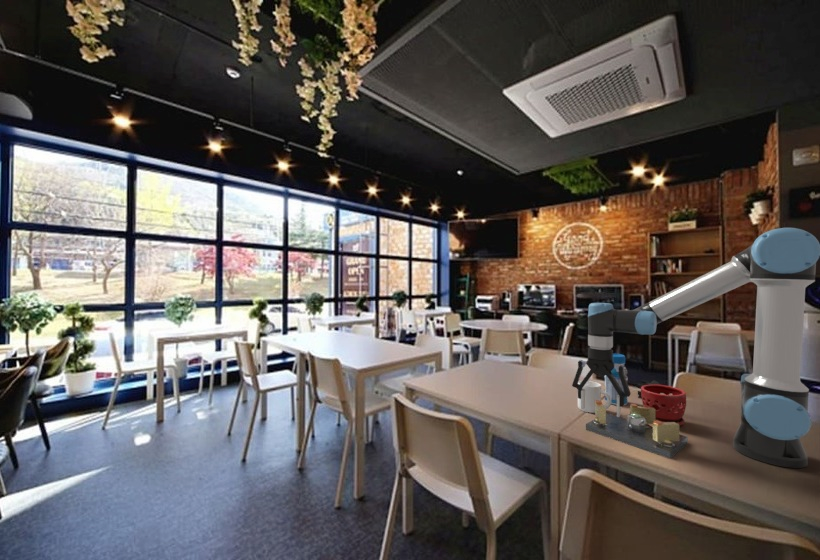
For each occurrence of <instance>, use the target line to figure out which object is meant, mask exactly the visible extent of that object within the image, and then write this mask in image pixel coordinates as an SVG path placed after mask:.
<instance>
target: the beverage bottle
mask: <svg viewBox="0 0 820 560" xmlns="http://www.w3.org/2000/svg"><path fill="white" fill-rule="evenodd" d="M613 363H614V365H619V366H620V365H623V366H624V375H625V378H626V381H627V382H628V380H629V377H628V376H627V375H628V370H627V368H626V366H625V364H626V356H625V355H624V354H621V353H613ZM611 372H612V374H613V376H614V378H615V379H616V381H617V383H618V384H619V386H620V387H621V389H622V391H623V392H624V389H623V386H622V383H621V380H620V377H619V372H617V371H616V369H615V368H613V370H612V371H611ZM603 377H604V391H606V392H607V393H608V394H609V396H610V398H611V405H614V406H617V396H618V393H617V391H616V390H615V388H614V386H613V385H612V383H611V382H610V380H609V379H608V377H607V376H606V375H605V376H603ZM604 401H605V402H606V403H607V398H606V396H605V395H604ZM627 404H628V397H624V406H626V405H627Z"/></svg>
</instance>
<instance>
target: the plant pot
mask: <svg viewBox="0 0 820 560" xmlns="http://www.w3.org/2000/svg"><path fill="white" fill-rule="evenodd" d="M640 391H641V397H642V399H641V400H642V401H641V402H642V405H643V406H642V407H651V408H654V409H655V421H660V422H675V423H677V424H679V427H681V426H682V425H684V424H685V419H684V418H683V417H684V415H685V411H686V407H687V393H686V392H685V390H682V389H681V388H678V387H674V386H670V385H663V384H660V385H644V386H642V387H641V389H640ZM653 392H656V393H653Z"/></svg>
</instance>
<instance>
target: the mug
mask: <svg viewBox="0 0 820 560" xmlns="http://www.w3.org/2000/svg"><path fill="white" fill-rule="evenodd" d="M582 381H583V380H579V381H578V384H579V385H580V383H581V382H582ZM582 389H585V408H584V409H581V399H579V398H578V397H577V408H578V409H579V410H580V411H582V412H583V413H584V412H585V413H588V412H589V414H590V413H591V414H595V400H599V401H601V402H602V395H604V397H605V396H606V398H607V402H606V404H604V405H603V404H602V405H603V406H604V407H605V409H606V410H607V409H608V408H610V406H611V405H612V404H611V398H610V396H609V394H608V393H607V392H606V391H605V389H602V384H601V383H599V382H596V381H593V380H592V381H591V380H588V381H587V382H586V384H585V385H584V386H583V388H582Z"/></svg>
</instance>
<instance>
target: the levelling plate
mask: <svg viewBox="0 0 820 560" xmlns="http://www.w3.org/2000/svg"><path fill="white" fill-rule="evenodd" d="M588 430H589V431H588ZM585 431H588V432H591V431H592V433H594V432H595V434H597V435H600V436H602V437H605V438H609V437H610V438H609V439H611V438H613V439H612V440H614V439H615V441H617V440H618V441H617V442H620V441H621V442H620V443H623V442H624V444H626V443H627V444H626V445H629V446H633V447H635V448H639V449H641V450H643V451H646V452H649V453H653V454H655V455H659V456H662V457H664V458H667V459H672V458H673V457H674V456H676V454H677V453H679V451H681V450H682V449H683V448H684V447H685V446H687V445H688V442H689V441H688V440H689V436H687V435H683V434H681V433H679V441H673V444H672V445H666V444H663V443H661V442H657V441H655V440H653V425H651V424H648V426H646V418H645V417H644V416H641V415H640V414H638V413H632V414H630V413H628V414H627V418H624V417H622V416H620V417H617V415H614V414H611V413H608V412H606V424H600V423H597V422H595V419H593V420H591V421H589V422H587V423H585Z"/></svg>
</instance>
